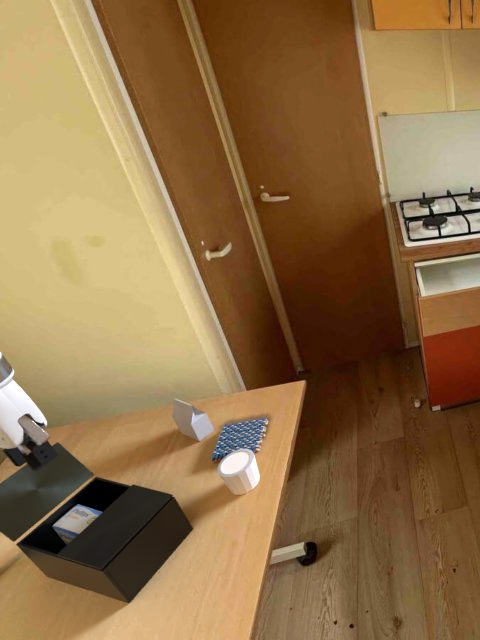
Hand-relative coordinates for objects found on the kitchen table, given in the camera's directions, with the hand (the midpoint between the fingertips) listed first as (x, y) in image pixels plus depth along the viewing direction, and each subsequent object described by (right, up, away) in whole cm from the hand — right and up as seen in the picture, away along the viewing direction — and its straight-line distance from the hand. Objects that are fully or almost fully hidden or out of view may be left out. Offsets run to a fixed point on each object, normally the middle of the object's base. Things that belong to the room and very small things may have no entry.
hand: (37, 460), depth 69 cm
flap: (-7, -8, +6) cm, 12 cm away
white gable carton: (0, -10, +35) cm, 37 cm away
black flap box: (+4, -23, +11) cm, 26 cm away
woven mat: (+13, -12, +33) cm, 37 cm away
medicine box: (0, -22, +11) cm, 25 cm away
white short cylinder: (+20, -17, +23) cm, 35 cm away
